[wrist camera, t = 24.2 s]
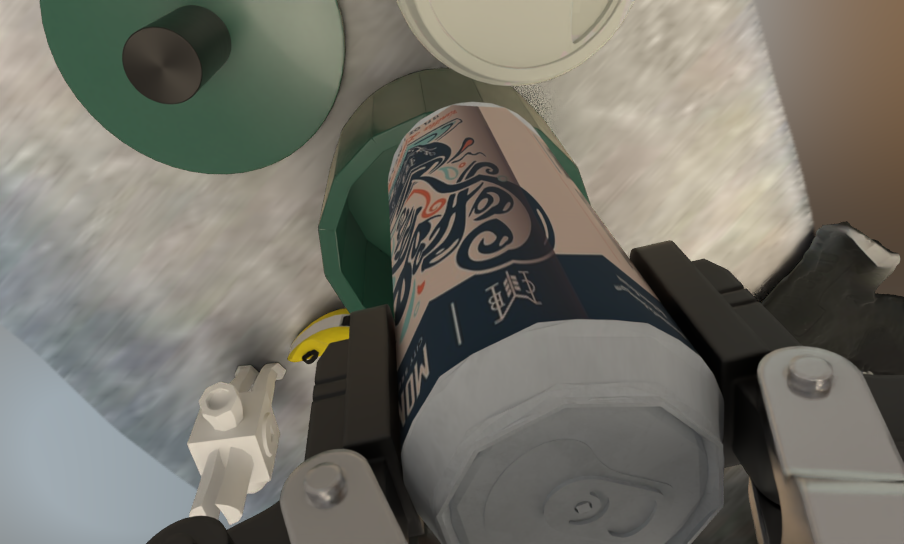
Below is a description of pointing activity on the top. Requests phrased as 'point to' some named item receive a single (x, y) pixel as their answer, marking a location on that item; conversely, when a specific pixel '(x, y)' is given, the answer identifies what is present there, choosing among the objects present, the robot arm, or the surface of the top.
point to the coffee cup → (513, 35)
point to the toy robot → (235, 441)
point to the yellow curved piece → (320, 336)
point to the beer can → (536, 353)
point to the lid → (202, 74)
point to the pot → (367, 170)
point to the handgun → (844, 300)
